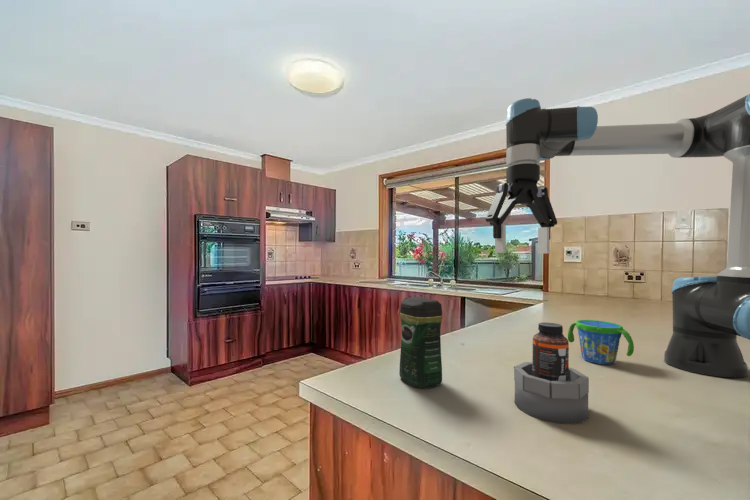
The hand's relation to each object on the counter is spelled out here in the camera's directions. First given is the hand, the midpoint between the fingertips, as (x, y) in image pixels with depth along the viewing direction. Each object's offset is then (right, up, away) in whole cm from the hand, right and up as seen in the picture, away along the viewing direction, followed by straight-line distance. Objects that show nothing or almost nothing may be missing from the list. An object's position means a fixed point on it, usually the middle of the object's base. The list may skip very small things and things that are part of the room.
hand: (522, 253), depth 81 cm
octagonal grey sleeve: (-4, -28, -19) cm, 34 cm away
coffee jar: (-26, -29, -7) cm, 39 cm away
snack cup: (+24, -29, +9) cm, 39 cm away
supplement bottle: (-3, -25, -19) cm, 31 cm away
